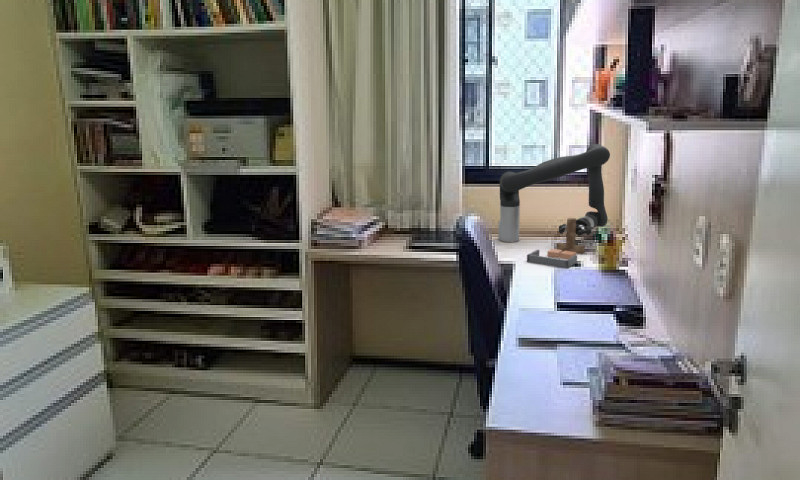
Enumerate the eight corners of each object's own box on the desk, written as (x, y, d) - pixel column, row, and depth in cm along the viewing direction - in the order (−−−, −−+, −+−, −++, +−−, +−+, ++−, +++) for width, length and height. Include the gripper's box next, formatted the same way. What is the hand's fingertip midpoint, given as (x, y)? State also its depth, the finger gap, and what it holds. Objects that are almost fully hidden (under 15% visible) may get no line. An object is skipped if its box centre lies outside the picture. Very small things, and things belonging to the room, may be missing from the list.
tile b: (559, 258, 252) (560, 252, 251) (565, 256, 255) (565, 250, 255) (570, 260, 249) (570, 254, 248) (575, 257, 252) (576, 252, 251)
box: (526, 261, 248) (527, 254, 247) (537, 256, 255) (537, 249, 255) (567, 268, 237) (567, 261, 236) (576, 262, 244) (577, 255, 244)
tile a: (547, 256, 255) (547, 251, 254) (551, 254, 259) (551, 248, 258) (558, 258, 252) (558, 252, 252) (562, 255, 256) (562, 250, 256)
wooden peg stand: (556, 250, 264) (557, 218, 260) (558, 248, 266) (560, 216, 262) (582, 254, 257) (583, 220, 253) (584, 252, 259) (586, 219, 255)
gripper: (568, 216, 273) (554, 222, 261) (598, 219, 265) (585, 226, 252) (568, 231, 275) (554, 238, 263) (598, 235, 267) (584, 242, 254)
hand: (569, 232), depth 258 cm, fingers open, 8 cm apart
